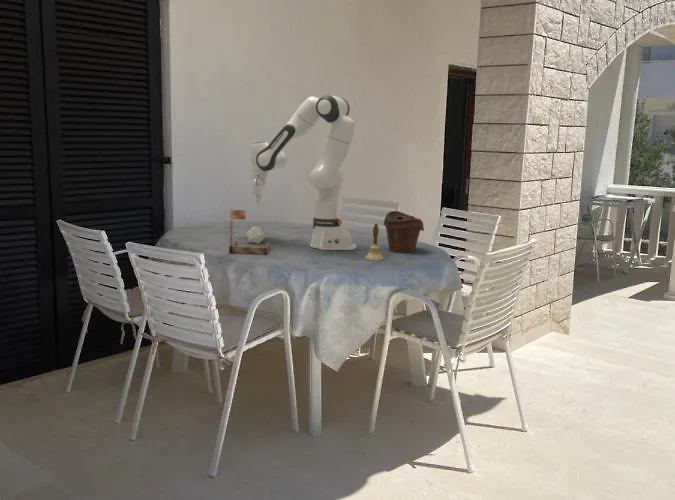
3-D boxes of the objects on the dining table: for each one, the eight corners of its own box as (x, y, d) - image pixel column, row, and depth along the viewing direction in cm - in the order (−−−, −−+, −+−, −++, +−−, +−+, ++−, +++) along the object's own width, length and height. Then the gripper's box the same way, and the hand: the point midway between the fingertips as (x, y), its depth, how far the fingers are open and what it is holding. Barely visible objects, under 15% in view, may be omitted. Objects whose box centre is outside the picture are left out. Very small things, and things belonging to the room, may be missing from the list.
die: (268, 243, 332) (262, 226, 336) (265, 238, 324) (259, 220, 327) (252, 249, 332) (246, 232, 335) (249, 243, 324) (243, 226, 327)
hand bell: (386, 260, 300) (388, 225, 297) (369, 260, 297) (371, 225, 294) (379, 256, 308) (380, 222, 305) (362, 257, 305) (363, 222, 302)
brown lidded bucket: (418, 255, 314) (420, 217, 311) (377, 250, 321) (379, 213, 318) (426, 249, 331) (429, 212, 328) (387, 245, 338) (389, 209, 334)
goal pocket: (270, 248, 318) (271, 206, 314) (266, 254, 303) (267, 210, 299) (234, 246, 318) (234, 204, 314) (229, 253, 302) (229, 209, 299)
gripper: (263, 176, 325) (262, 205, 327) (267, 173, 345) (266, 200, 347) (250, 176, 324) (249, 204, 327) (255, 172, 345) (254, 199, 347)
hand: (258, 202), depth 337 cm, fingers closed
